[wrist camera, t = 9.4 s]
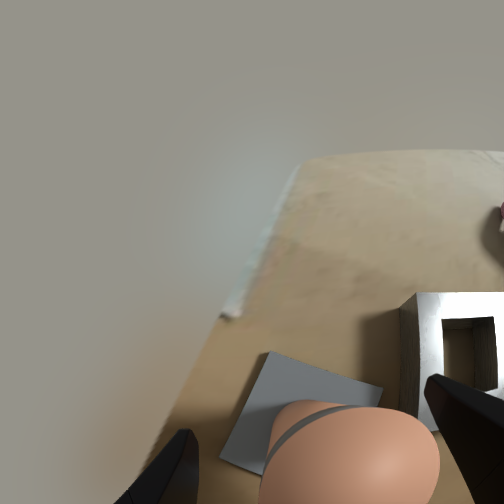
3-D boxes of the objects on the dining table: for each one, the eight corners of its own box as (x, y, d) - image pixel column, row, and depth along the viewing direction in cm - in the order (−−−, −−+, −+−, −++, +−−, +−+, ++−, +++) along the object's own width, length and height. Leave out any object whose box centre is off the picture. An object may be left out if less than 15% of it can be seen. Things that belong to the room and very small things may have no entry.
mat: (380, 388, 15) (383, 388, 14) (333, 492, 12) (335, 495, 11) (270, 351, 17) (270, 350, 17) (220, 455, 14) (218, 457, 13)
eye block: (487, 409, 12) (511, 407, 9) (396, 430, 13) (416, 434, 11) (483, 306, 16) (503, 292, 14) (399, 307, 18) (416, 292, 15)
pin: (332, 458, 13) (418, 541, 2) (267, 456, 13) (246, 557, 3) (340, 399, 14) (449, 397, 4) (275, 397, 15) (271, 405, 5)
